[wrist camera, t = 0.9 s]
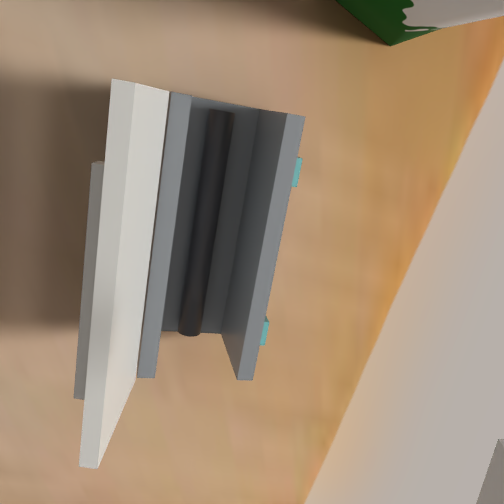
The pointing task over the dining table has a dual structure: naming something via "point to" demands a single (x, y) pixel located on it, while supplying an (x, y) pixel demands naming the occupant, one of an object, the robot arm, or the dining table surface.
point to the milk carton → (418, 15)
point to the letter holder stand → (218, 225)
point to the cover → (117, 260)
